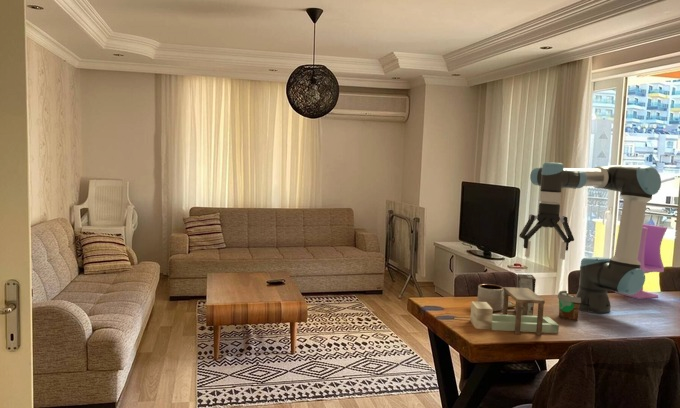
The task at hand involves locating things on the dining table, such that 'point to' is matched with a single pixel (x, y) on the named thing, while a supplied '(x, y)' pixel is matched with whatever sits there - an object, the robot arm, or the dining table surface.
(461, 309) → the dining table surface
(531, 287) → the coffee box
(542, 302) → the brown legged piece
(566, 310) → the food container
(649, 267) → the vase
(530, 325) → the pale green tray
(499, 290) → the planter
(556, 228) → the robot arm
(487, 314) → the beech block
